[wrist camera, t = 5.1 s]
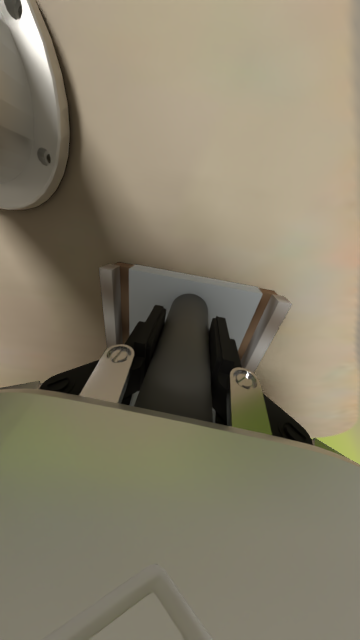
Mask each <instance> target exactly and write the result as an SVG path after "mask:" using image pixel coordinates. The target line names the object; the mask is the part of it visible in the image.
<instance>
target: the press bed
mask: <svg viewBox="0 0 360 640" xmlns="http://www.w3.org/2000/svg"><path fill="white" fill-rule="evenodd" d="M133 266H134V265H132V264H126V263H121V262H118V263H116V264H114V265H113V264H106V265H104V266H102V267H100V268H99V274H100V284H101V294H102V303H103V313H104V323H105V333H106V343H107V349H108V348H109V347H111V346H113V345H118V344H125V342H126V341H127V339H128V337H129V269H130V268H131V267H133ZM259 290H260V291H261V292H262V294H263V295H262V297H261V299H260V302H259V304H258V306H257V308H256V311H255V313H254V315H253V317H252V320H251V322H250V324H249V327H248V329H247V331H246V333H245V336H244V338H243V340H242V343H241V345H240V347H239V349H238V353H239V357H240V361H241V365H242V368H245V369H248V370H249V371H251V372H253V373H254V372H255V370H256V368H257V366H258V365H259V363H260V361H261V359H262V357H263V356H264V354H265V352H266V350H267V349H268V347H269V345H270V343H271V341H272V340H273V338H274V336H275V334H276V332H277V331H278V329H279V327H280V325H281V323H282V322H283V320H284V318H285V316H286V314H287V313H288V311H289V309H290V307H291V305H292V303H290V302H289V301H288V300H287V299H286V298H285V297H284V296H279V295H277V294H276V293H275V292H274V291H272V290H266V289H261V288H259Z"/></svg>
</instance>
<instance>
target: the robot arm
mask: <svg viewBox="0 0 360 640" xmlns="http://www.w3.org/2000/svg"><path fill="white" fill-rule="evenodd" d="M69 137H70V128H69V114H68V103H67V98H66V93H65V87H64V82H63V77H62V72H61V69H60V66H59V63H58V59H57V56H56V53H55V49H54V46H53V43H52V39H51V37H50V34H49V32H48V30H47V27H46V25H45V22H44V20H43V18H42V15H41V13H40V10H39V8H38V6H37V3H36V1H35V0H0V209H7V210H26V209H30V208H34V207H37V206H39V205H40V204H42V203H43V202H45V201H46V200H48V199H49V198H50V196H51V195H52V194H53V193H54V192H55V191H56V189H57V188H58V185H59V183H60V181H61V179H62V177H63V175H64V171H65V167H66V163H67V159H68V152H69ZM165 317H166V309H164V306H160V305H155V306H154V308H153V309H152V311H151V313H150V315H149V316H148V318H147V320H146V322H142V321H139V322H138V323H137V325H136V326H135V328H134V330H133V331H132V333H131V334H130V336H129V337H128V339H127V341H126V342H125V344H118V345H113V346H111V347H109V348H108V349H106V351H105V352H104V353H103V355H102V357H101V358H100V360H98V361H95V362H92V363H89V364H86V365H83V366H80V367H77V368H75V369H72V370H69V371H66V372H63V373H60V374H57V375H55V376H53V377H51V378H49V379H48V380H46V381H45V382H44V383H41V384H40V381H37V382H32V383H26V384H20V385H14V386H9V387H3V388H0V640H360V465H359V464H358V463H356V462H354V461H352V460H350V459H349V458H347V457H345V456H344V455H342V454H340V453H339V452H337V451H335V450H334V449H332V448H331V447H329V446H327V445H326V444H324V443H323V442H321V441H319V440H318V439H316V438H314V439H313V440H312V439H311V438H310V436H309V434H308V433H307V432H306V430H305V429H304V428H303V427H302V426H301V425H300V424H299V423H298V422H296V421H295V420H294V419H293V418H292V417H290V416H289V415H288V414H287V413H286V412H284V411H283V410H282V409H281V408H280V407H278V406H277V405H276V404H275V403H274V402H272V401H271V400H270V399H269V398H268V397H266V396H265V395H264V394H263V392H262V388H261V383H260V381H259V379H258V378H257V376H256V375H255V374H254V373H253V372H251V371H249V370H248V369H245V368H242V365H241V361H240V357H239V353H238V350H237V346H236V342H235V340H234V339H230V337H229V333H228V328H227V323H226V319H225V318H223V317H218V316H216V318H213V319H212V322H211V325H210V329H209V346H210V368H211V390H212V408H213V409H214V411H213V423H212V422H207V421H202V420H197V419H193V418H188V417H183V416H178V415H173V414H168V413H164V412H159V411H154V410H149V409H144V408H139V407H134V406H131V404H132V401H133V397H134V393H136V392H138V391H140V388H141V386H142V383H143V380H144V378H145V375H146V372H147V370H148V367H149V364H150V362H151V359H152V356H153V354H154V351H155V348H156V345H157V343H158V340H159V337H160V335H161V332H162V329H163V327H164V324H165Z"/></svg>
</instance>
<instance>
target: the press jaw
mask: <svg viewBox="0 0 360 640" xmlns="http://www.w3.org/2000/svg"><path fill="white" fill-rule="evenodd" d="M262 295H263V294H262V292H261V291H260V290H259V288H258V287H255V286H250V285H244V284H239V283H234V282H228V281H223V280H217V279H212V278H207V277H201V276H196V275H191V274H185V273H180V272H174V271H169V270H164V269H158V268H153V267H147V266H142V265H137V264H135V265H134V266H133V267H131V268H130V269H129V336H130V334H131V333H132V331H133V330H134V328H135V326H136V325H137V323H138V322H139V321H142V322H146V320H147V318H148V316H149V315H150V313H151V311H152V309H153V308H154V306H155V305H160V306H164V309H166V317H165V324H164V327H163V329H162V332H161V335H160V337H159V340H158V343H157V345H156V348H155V351H154V354H153V356H152V359H151V362H150V364H149V367H148V370H147V372H146V375H145V378H144V380H143V383H142V386H141V388H140V391H138V392H136V393H134V397H133V401H132V404H131V406H134V407H139V408H144V409H149V410H154V411H159V412H164V413H168V414H173V415H178V416H183V417H188V418H193V419H197V420H202V421H207V422H212V423H213V411H214V409H213V408H212V390H211V368H210V346H209V329H210V325H211V322H212V319H213V318H216V316H218V317H223V318H225V319H226V323H227V328H228V333H229V337H230V339H234V340H235V342H236V346H237V350H238V349H239V347H240V345H241V343H242V340H243V338H244V336H245V333H246V331H247V329H248V327H249V324H250V322H251V320H252V317H253V315H254V313H255V311H256V308H257V306H258V304H259V302H260V299H261V297H262Z"/></svg>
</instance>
